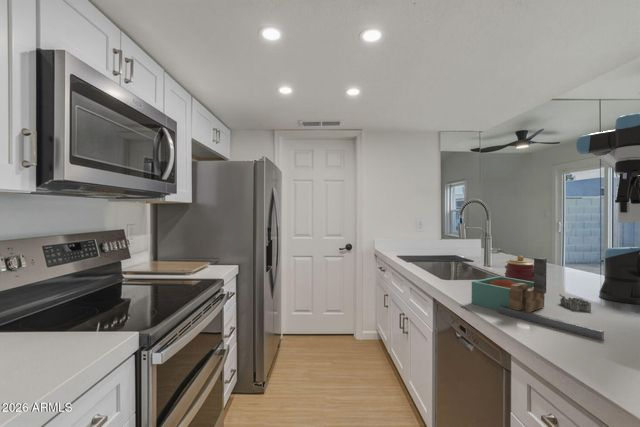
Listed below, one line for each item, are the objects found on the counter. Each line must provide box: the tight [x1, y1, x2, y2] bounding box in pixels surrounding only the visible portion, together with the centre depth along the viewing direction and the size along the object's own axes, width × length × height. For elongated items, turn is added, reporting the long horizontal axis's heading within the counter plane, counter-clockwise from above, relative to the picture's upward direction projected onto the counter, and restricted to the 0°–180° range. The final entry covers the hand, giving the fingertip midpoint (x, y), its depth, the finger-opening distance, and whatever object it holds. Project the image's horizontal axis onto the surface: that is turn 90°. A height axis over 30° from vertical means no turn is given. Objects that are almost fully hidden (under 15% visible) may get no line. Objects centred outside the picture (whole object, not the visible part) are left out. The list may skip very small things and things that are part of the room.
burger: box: [490, 280, 517, 288], centre depth 127 cm, size 14×14×10 cm
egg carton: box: [559, 294, 593, 312], centre depth 124 cm, size 11×8×4 cm
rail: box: [497, 306, 605, 341], centre depth 104 cm, size 2×30×2 cm, turn 34°
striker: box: [509, 257, 547, 313], centre depth 116 cm, size 23×6×20 cm, turn 124°
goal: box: [471, 275, 534, 311], centre depth 127 cm, size 22×17×9 cm
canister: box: [504, 255, 534, 282], centre depth 146 cm, size 13×13×18 cm
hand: (629, 222), depth 105 cm, fingers open, 13 cm apart
